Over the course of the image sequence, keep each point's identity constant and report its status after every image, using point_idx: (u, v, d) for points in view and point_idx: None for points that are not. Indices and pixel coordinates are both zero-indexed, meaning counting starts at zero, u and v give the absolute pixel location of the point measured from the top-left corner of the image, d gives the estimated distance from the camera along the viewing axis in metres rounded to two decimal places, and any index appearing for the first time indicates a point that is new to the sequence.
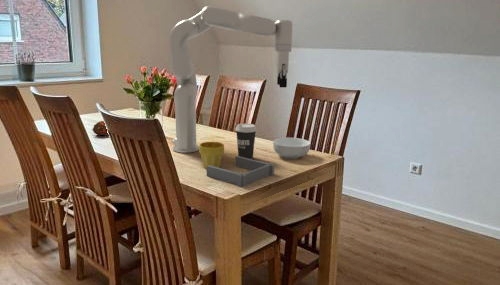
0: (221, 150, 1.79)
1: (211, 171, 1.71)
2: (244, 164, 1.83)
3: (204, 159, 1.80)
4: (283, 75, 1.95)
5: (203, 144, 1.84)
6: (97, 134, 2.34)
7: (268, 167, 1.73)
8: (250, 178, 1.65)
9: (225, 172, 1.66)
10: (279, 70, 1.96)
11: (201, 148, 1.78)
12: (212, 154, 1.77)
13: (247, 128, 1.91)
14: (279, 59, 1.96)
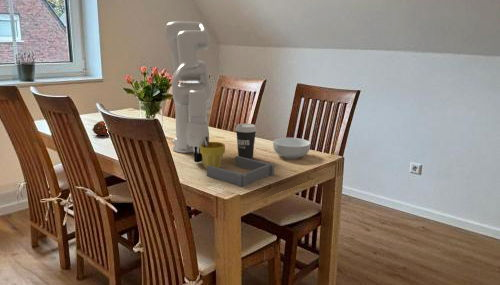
0: (222, 150, 1.79)
1: (211, 171, 1.71)
2: (244, 164, 1.83)
3: (205, 159, 1.80)
4: None
5: None
6: (97, 134, 2.34)
7: (268, 167, 1.73)
8: (250, 178, 1.65)
9: (225, 172, 1.66)
10: (203, 144, 1.82)
11: (202, 148, 1.78)
12: (213, 154, 1.77)
13: (247, 128, 1.91)
14: (202, 132, 1.81)
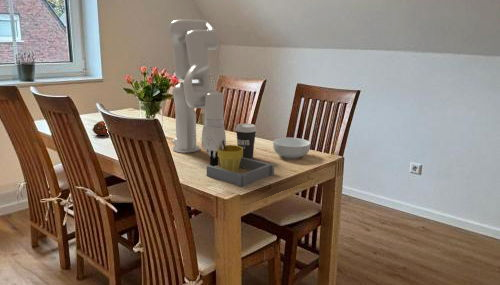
0: (241, 153, 1.75)
1: (211, 171, 1.71)
2: (244, 164, 1.83)
3: (224, 163, 1.74)
4: None
5: None
6: (97, 134, 2.34)
7: (268, 167, 1.73)
8: (250, 178, 1.65)
9: (225, 172, 1.66)
10: (219, 148, 1.76)
11: (221, 152, 1.73)
12: (234, 158, 1.73)
13: (247, 128, 1.91)
14: (219, 136, 1.75)
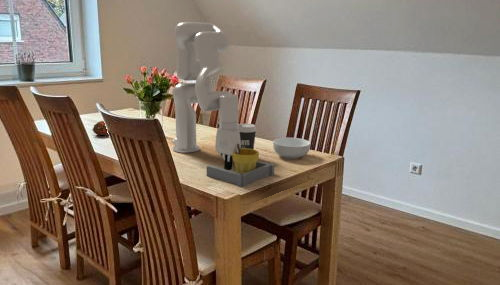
0: (257, 157, 1.71)
1: (211, 171, 1.71)
2: None
3: (240, 167, 1.70)
4: None
5: None
6: (97, 134, 2.34)
7: (268, 167, 1.73)
8: (250, 178, 1.65)
9: (225, 172, 1.66)
10: (234, 152, 1.72)
11: (237, 156, 1.68)
12: (250, 162, 1.68)
13: (247, 128, 1.91)
14: (234, 140, 1.70)
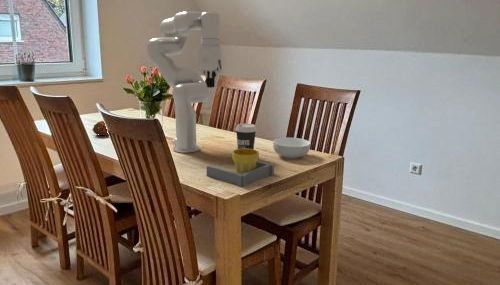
0: (257, 157, 1.70)
1: (211, 171, 1.71)
2: None
3: (240, 167, 1.70)
4: None
5: (235, 151, 1.74)
6: (97, 134, 2.34)
7: (268, 167, 1.73)
8: (250, 178, 1.65)
9: (225, 172, 1.66)
10: (216, 67, 1.80)
11: (237, 156, 1.68)
12: (250, 162, 1.68)
13: (247, 128, 1.91)
14: (215, 55, 1.79)
